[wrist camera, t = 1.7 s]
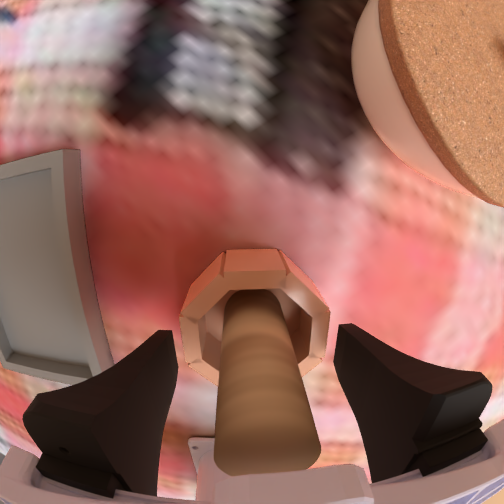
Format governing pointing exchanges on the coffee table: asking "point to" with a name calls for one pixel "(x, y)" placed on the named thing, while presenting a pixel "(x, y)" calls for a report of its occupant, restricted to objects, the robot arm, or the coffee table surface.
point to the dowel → (261, 392)
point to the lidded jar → (436, 88)
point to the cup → (252, 277)
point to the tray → (48, 273)
